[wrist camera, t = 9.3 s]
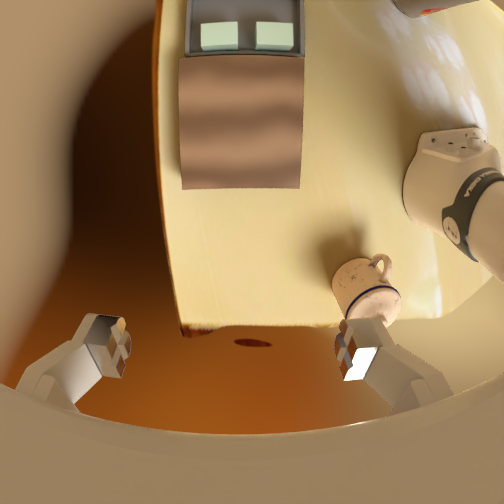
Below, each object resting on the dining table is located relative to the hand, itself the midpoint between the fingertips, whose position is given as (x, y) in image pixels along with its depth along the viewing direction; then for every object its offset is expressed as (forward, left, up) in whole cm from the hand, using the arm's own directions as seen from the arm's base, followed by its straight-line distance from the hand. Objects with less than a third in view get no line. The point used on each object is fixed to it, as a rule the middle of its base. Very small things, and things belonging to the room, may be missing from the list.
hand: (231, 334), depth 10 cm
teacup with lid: (-10, +24, -29) cm, 39 cm away
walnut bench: (-4, -6, -29) cm, 30 cm away
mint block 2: (-11, -12, -26) cm, 31 cm away
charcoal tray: (-10, -17, -29) cm, 35 cm away
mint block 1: (-6, -15, -26) cm, 30 cm away
